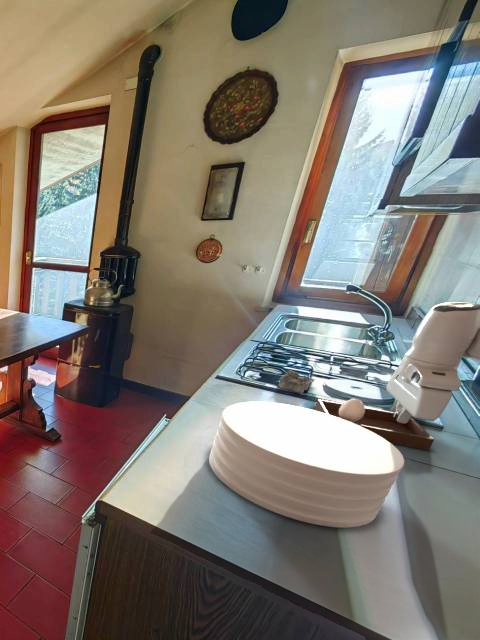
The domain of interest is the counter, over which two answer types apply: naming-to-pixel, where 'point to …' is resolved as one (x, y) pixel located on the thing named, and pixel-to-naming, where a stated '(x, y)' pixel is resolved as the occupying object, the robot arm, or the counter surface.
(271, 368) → the counter surface
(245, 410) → the plate stack
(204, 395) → the counter surface
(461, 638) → the counter surface
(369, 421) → the tray
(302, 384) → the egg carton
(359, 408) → the egg
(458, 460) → the counter surface
